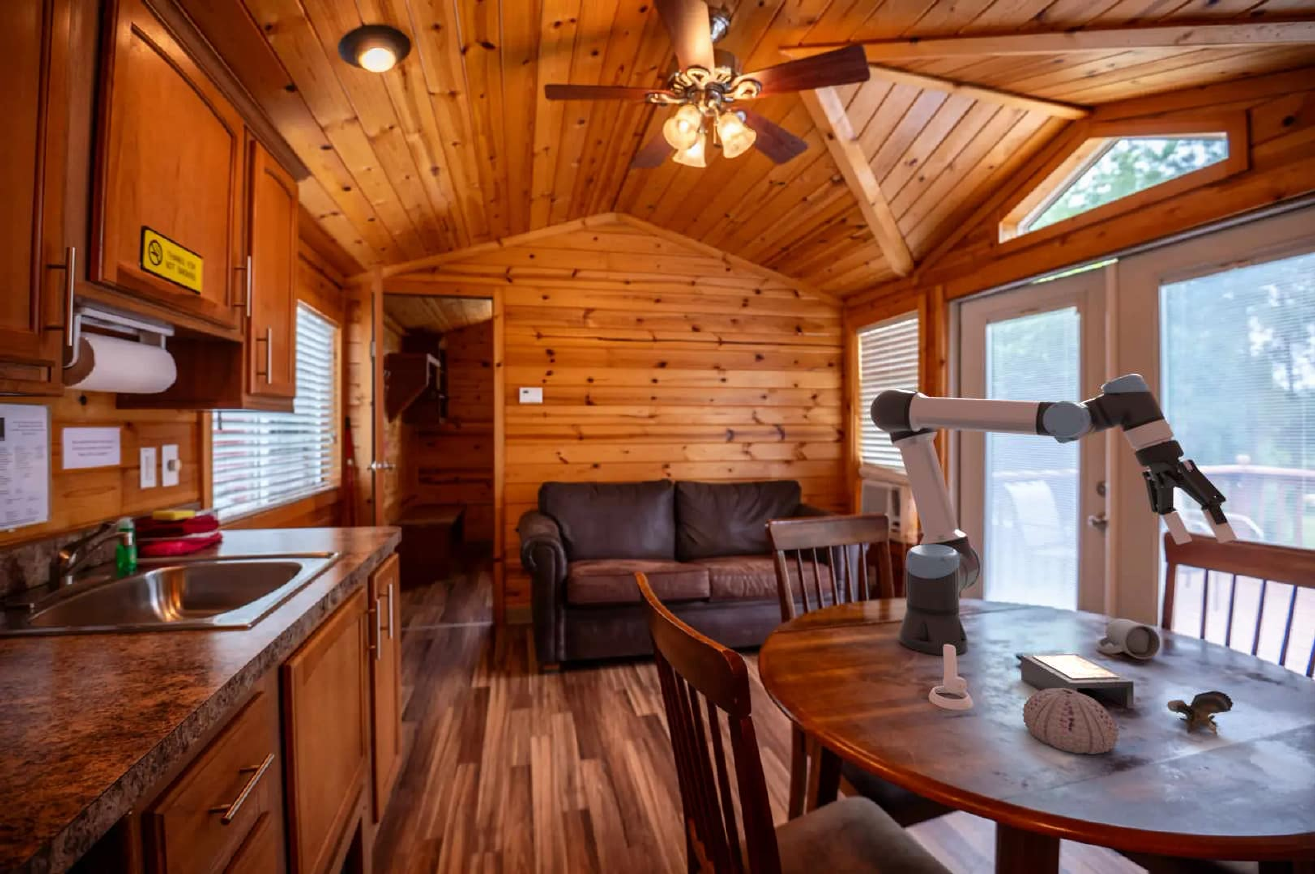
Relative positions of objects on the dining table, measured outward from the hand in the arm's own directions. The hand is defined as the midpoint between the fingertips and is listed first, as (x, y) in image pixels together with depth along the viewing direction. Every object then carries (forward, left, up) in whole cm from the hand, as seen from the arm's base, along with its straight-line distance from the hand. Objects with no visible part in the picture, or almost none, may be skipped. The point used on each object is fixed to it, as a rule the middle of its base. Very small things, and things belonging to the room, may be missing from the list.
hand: (1205, 542), depth 119 cm
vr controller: (-55, -4, -29) cm, 63 cm away
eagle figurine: (-18, -17, -29) cm, 38 cm away
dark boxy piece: (-29, -2, -29) cm, 41 cm away
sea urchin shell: (-43, -19, -29) cm, 56 cm away
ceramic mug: (-1, +18, -29) cm, 34 cm away
